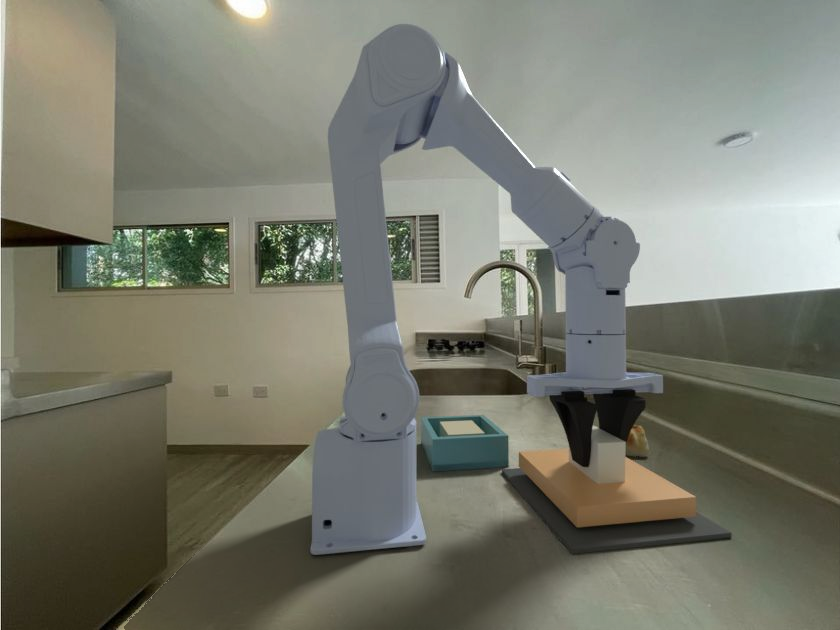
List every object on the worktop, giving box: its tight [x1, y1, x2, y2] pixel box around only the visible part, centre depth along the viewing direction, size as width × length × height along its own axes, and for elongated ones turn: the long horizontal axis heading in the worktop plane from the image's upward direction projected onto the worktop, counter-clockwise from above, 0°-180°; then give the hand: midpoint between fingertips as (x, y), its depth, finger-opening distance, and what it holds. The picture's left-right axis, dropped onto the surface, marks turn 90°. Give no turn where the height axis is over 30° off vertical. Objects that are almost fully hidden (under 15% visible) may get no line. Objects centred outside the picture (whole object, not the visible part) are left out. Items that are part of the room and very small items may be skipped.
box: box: [420, 414, 510, 473], centre depth 48 cm, size 10×10×4 cm
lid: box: [518, 425, 697, 527], centre depth 36 cm, size 12×12×6 cm
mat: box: [501, 467, 733, 555], centre depth 36 cm, size 15×15×1 cm
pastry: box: [594, 424, 650, 458], centre depth 51 cm, size 9×7×4 cm
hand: (595, 462), depth 36 cm, fingers closed on lid, 3 cm apart
